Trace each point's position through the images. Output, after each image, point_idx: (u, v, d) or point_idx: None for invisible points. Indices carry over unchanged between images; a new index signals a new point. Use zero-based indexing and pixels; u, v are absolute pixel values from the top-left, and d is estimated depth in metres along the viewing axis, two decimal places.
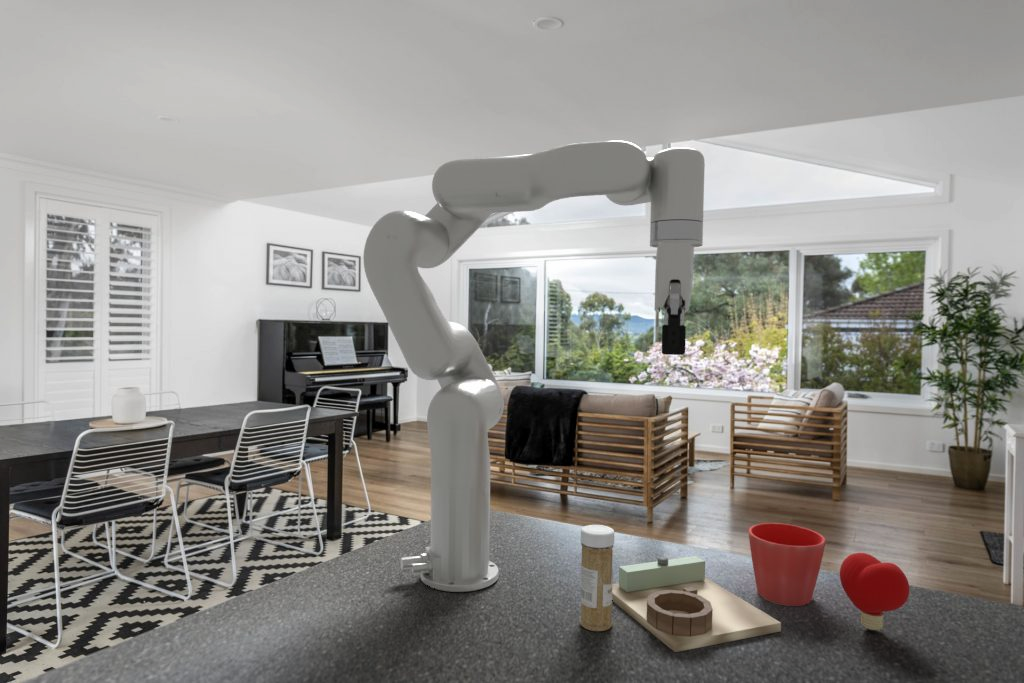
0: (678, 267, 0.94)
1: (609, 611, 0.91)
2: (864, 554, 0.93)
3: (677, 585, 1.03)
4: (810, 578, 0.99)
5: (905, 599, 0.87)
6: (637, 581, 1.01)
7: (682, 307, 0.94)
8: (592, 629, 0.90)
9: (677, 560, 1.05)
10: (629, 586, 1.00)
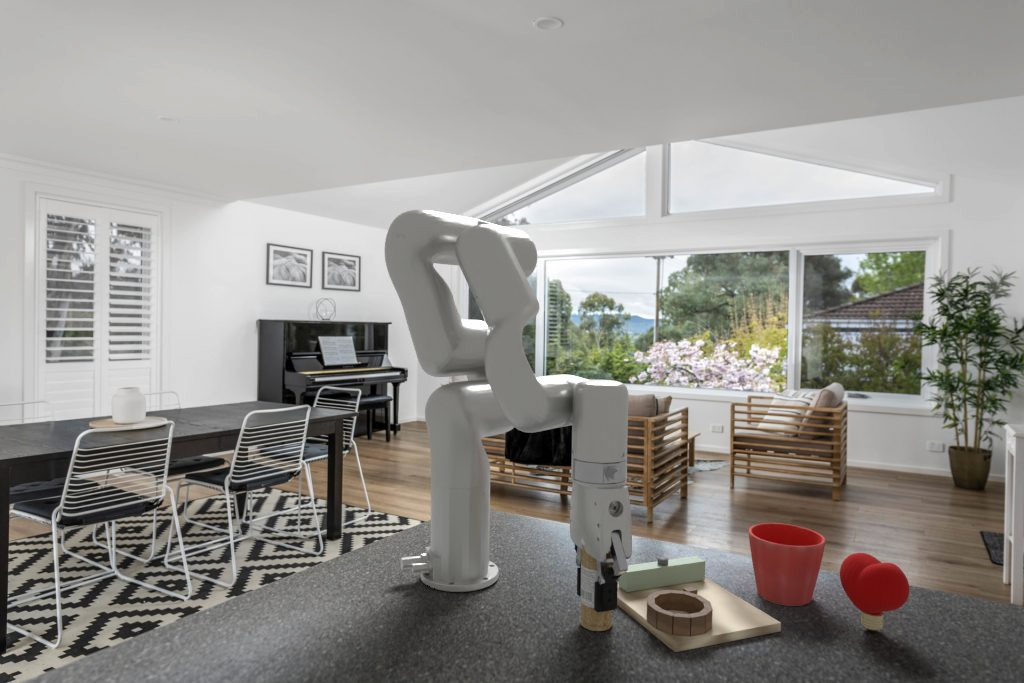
0: None
1: (609, 611, 0.91)
2: (864, 554, 0.93)
3: (677, 585, 1.03)
4: (810, 578, 0.99)
5: (905, 599, 0.87)
6: (637, 581, 1.01)
7: None
8: (592, 629, 0.90)
9: (677, 560, 1.05)
10: (629, 586, 1.00)
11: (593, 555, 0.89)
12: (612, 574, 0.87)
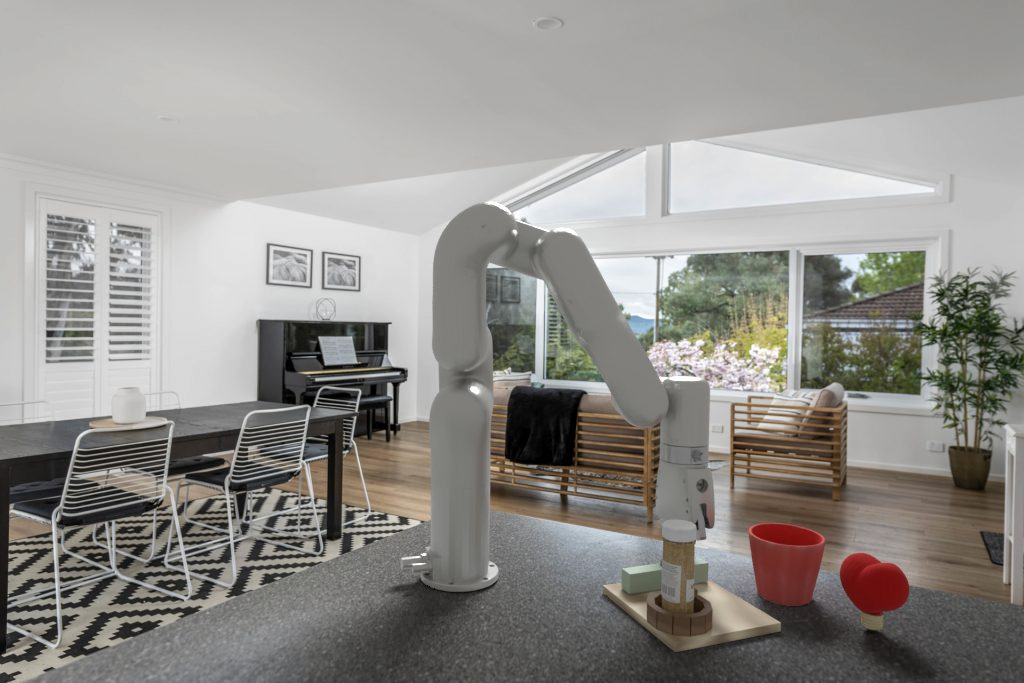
0: None
1: (692, 606, 0.90)
2: (864, 554, 0.93)
3: None
4: (810, 578, 0.99)
5: (905, 599, 0.87)
6: (639, 583, 1.00)
7: None
8: None
9: None
10: (632, 588, 0.99)
11: None
12: None
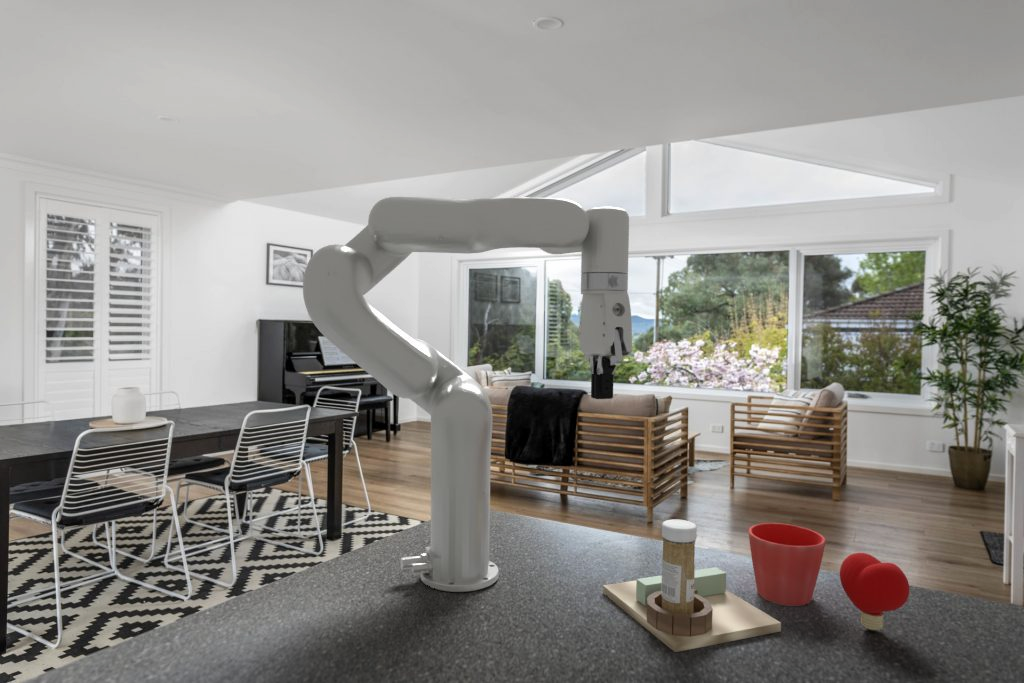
0: None
1: (692, 606, 0.90)
2: (864, 554, 0.93)
3: None
4: (810, 578, 0.99)
5: (905, 599, 0.87)
6: None
7: None
8: None
9: (697, 572, 1.00)
10: None
11: (599, 351, 1.06)
12: (608, 364, 1.06)
